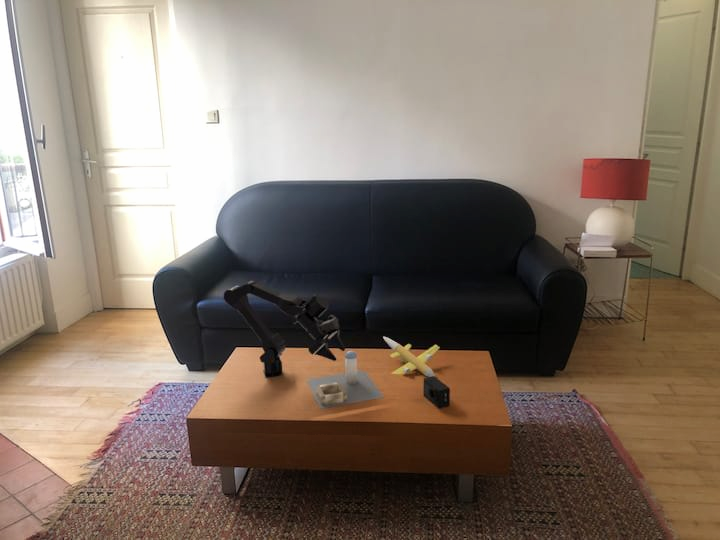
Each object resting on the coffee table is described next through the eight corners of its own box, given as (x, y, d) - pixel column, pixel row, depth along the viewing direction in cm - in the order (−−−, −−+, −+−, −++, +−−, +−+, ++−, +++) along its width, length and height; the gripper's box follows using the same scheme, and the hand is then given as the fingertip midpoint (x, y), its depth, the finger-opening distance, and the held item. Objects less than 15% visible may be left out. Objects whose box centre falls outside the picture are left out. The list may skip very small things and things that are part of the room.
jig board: (320, 411, 182) (320, 408, 182) (306, 381, 204) (306, 379, 203) (384, 399, 189) (384, 397, 189) (364, 372, 210) (364, 370, 210)
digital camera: (420, 396, 191) (420, 378, 189) (433, 393, 193) (433, 375, 191) (435, 410, 182) (436, 391, 180) (449, 406, 184) (449, 387, 182)
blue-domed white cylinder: (347, 384, 198) (346, 354, 195) (344, 379, 202) (343, 349, 199) (358, 382, 200) (358, 352, 197) (355, 377, 204) (354, 348, 201)
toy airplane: (457, 370, 213) (406, 332, 233) (458, 357, 209) (406, 319, 229) (409, 404, 201) (360, 361, 221) (408, 391, 197) (358, 348, 217)
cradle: (321, 405, 184) (321, 397, 183) (315, 393, 193) (315, 385, 192) (347, 401, 187) (347, 393, 186) (340, 389, 195) (340, 381, 194)
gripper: (314, 320, 189) (345, 352, 188) (333, 303, 206) (362, 333, 205) (295, 338, 193) (325, 370, 192) (316, 321, 210) (343, 350, 210)
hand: (340, 355), depth 200 cm, fingers open, 9 cm apart
